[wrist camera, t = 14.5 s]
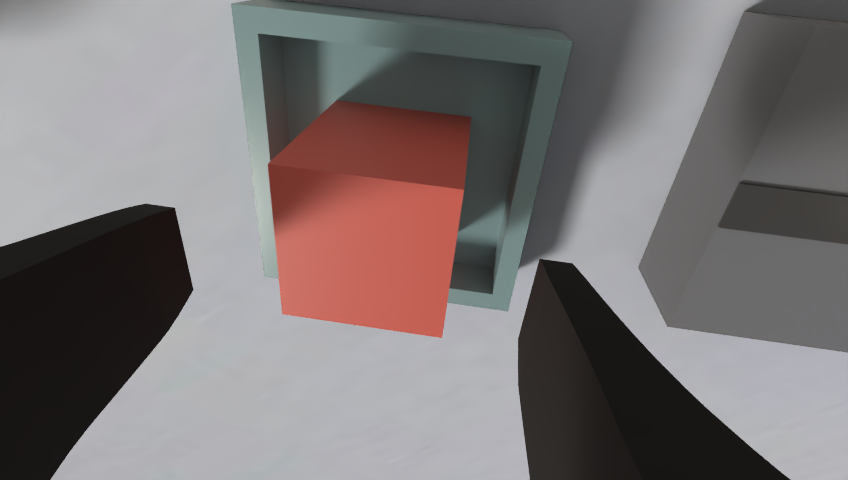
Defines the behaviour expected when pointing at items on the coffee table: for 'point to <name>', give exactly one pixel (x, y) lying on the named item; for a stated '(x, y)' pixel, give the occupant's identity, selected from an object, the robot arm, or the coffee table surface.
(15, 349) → the robot arm
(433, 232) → the block
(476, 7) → the coffee table surface
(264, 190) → the tray
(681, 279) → the grey flat block
